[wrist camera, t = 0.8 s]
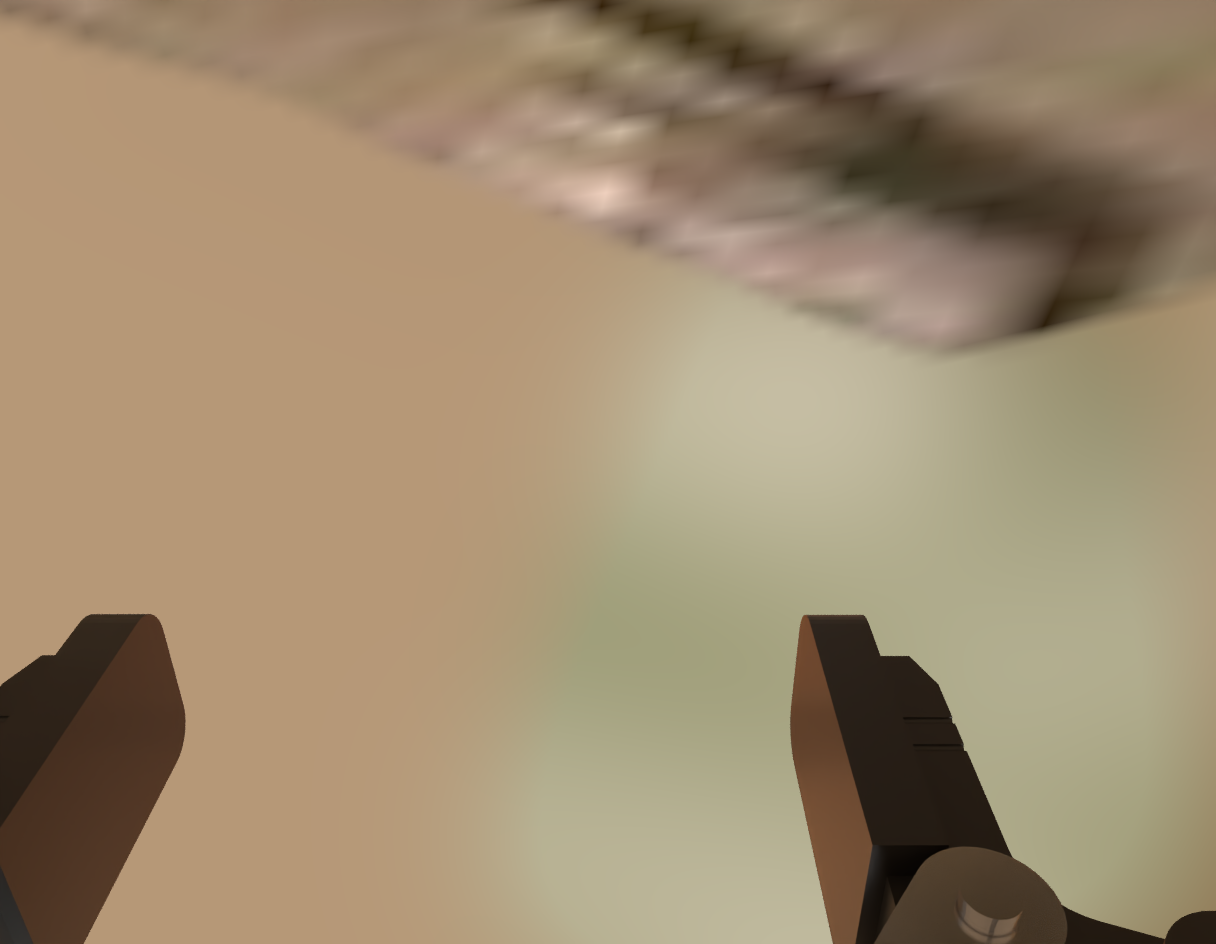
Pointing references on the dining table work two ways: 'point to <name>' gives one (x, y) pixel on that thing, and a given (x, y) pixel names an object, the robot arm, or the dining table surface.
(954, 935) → the robot arm
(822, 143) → the dining table surface
